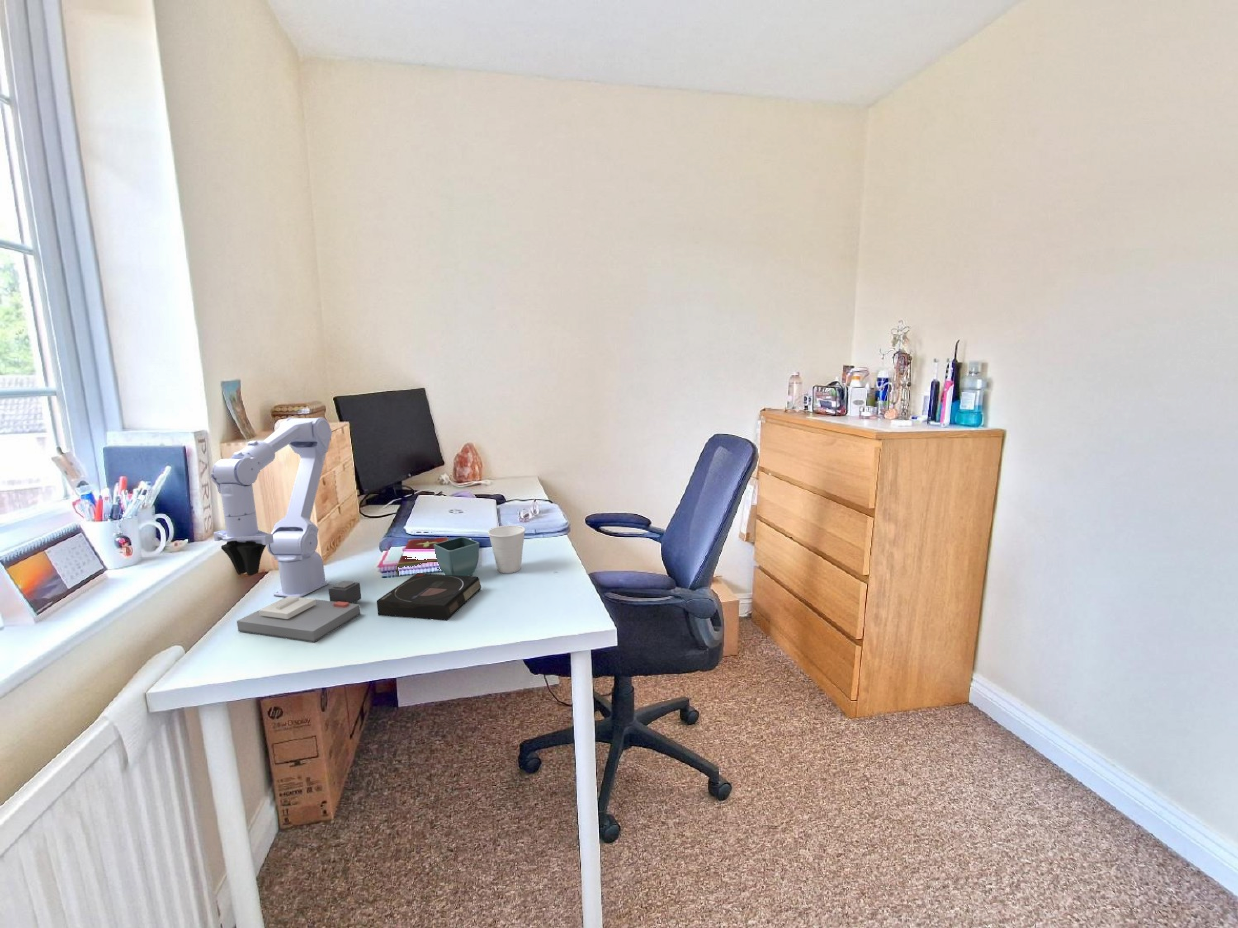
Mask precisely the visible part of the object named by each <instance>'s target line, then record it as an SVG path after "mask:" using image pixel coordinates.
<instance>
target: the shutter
mask: <svg viewBox="0 0 1238 928" xmlns="http://www.w3.org/2000/svg"><path fill="white" fill-rule="evenodd" d="M315 599H316V598H308V597H292V596H288V597H284V599H283V598H282V600H281V599H279V600H280V601H279V600H278V602H277V601H276V602H273V603H271V604H270V605H268V606H265V607H263V608H261V609H259V612H260V616H267V617H275V618H282V619H289V618H291V617H293V616H295V615H297V614H299V613H301V612H302V611H304V610H306V609H308V608H310V607H312V606H314V605H316V600H315Z"/></svg>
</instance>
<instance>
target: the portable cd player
mask: <svg viewBox="0 0 1238 928" xmlns="http://www.w3.org/2000/svg"><path fill="white" fill-rule="evenodd" d="M481 590H482V585H481V582H480V577H479V576H475V575H474V576H473V575H471V576H459V575H445V574H440V573H439V574H438V573H417V574H413V575H411V577H409V578H408V579H406V580H405V581H404V582H402V583H400V584H399V585H397V586H396V587H395V588H393V589H392V590H390V591H388V592H387V593H386V594H384V595H383V596H380V597H379V598H378V599H377V600H376V608H377V616H379V617H392V618H406V619H408V618H409V619H420V620H431V619H433V621H448V620H450V619H451V617H452V616H454V615H455V614H456V613H457V612H458V611H459V610H460V609H461V608H462V607H464V606H465V605H466V604H468V602H469V601H470V600H471V599H472V598H474V596H475V595H477V594H478V593H479V592H480V591H481Z"/></svg>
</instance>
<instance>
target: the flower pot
mask: <svg viewBox="0 0 1238 928" xmlns="http://www.w3.org/2000/svg"><path fill="white" fill-rule="evenodd" d="M434 549H435V554H436V558H437V562H438V564H439V566H440V568H441V570H442V571H443V575H459V576H473V574H474V573H475V572H476V569H477V566H478V565H479V564H478V563H479V557H480V555H479V554H480V541H479V542H478V541H476V540H473V539H470V538H468V537H465V536H460V537H455V538H452V539H449V540H447V541H444V542H440V543H436V544H434Z"/></svg>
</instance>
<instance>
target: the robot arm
mask: <svg viewBox="0 0 1238 928" xmlns="http://www.w3.org/2000/svg"><path fill="white" fill-rule="evenodd" d="M332 435H333V431H332V428H331V426H330V423H329V422H328V420H327V419H326V418H324V417H322V416H321V417H314V418H313V417H311V418H310V417H309V418H307V417H306V418H305V417H304V418H303V417H302V418H298V417H297V418H294V417H288V418H286V419H285V420H284V421H281V422H280V423H279V427H278V428H277V429H276V430H275V431H274V432H272V433H271V434H270V435H269V436H268V437H266V438H265V439H264V440H250V441H248V442H247V446H245V447H244V448H241V450H239V451H235V452H234V453H233V454H232V456H230V458H222V459H219V460H218V461H217V462H215V463H214V465H213V467H212V470H211V473H210V478H211V480H212V482H213V483H214V484H215V486H216V488H217V492H218V493H219V494H220V495H221V496H220V497H221V503H222V510H223V518H224V525H225V530H223V529H221V530H218V531H214V532H213V539H214V541H215V542H220V541H222V542H226V543H225V544H222V545H221V546H220V547H221V550H222V551H223V552H224V553H225V554H226V555H227V557H228V558H229V560H230V561H231V563H232V565H233V567H234V570H235V572H236V573H237V575H240V576H241V575H243V574H247V576H249V577H251V576H253V575H256V574H259V571H260V565H261V559H262V557H263V556H262V555H263V553H264V550H265V549H267V551H268V553H269V555H271V556H273V558H274V560H277V567H278V573H279V580H280V587H281V589H279V590H277V591H275V592H274V593H273V596H276V597H284V598H286V597H288V596H292V597H300V598H303V597H304V596H307V595H308V594H310V593H312V592H315V591H316V590H318V589H320V588H323V587H324V586H326V585H328V584H329V582H328V581H326V575H325V567H324V561H323V557H322V556H321V555H320V553H319V552H317V548H318V544H319V540H318V535H319V534H318V532H319V528H318V526H317V525H316V524H315V523H314V522H313V521H312V520H311V516H312V513H313V510H314V505H315V500H316V497H317V494H318V493H317V492H318V489H319V486H320V485H319V484H320V479H321V478H322V477H321V476H322V472H323V468H324V464H325V461H326V460H325V459H326V455H327V453H328V450H329V448H330V447H329V446H330V443H331V439H332ZM287 446H289V447H290V449H292V451H293V452H294V453H295V454H297V455H299V457H300V461H299V464H298V468H297V472H296V476H295V479H294V484H293V487H292V491H291V495H290V497H289V498H290V499H289V502H288V507H287V510H286V514H285V516H284V517H283V518H281V519H280V520H278V521H277V522H276V523H275V524H274V526H273V529H272V530H271V533H267V532H265V531H262V530H259V526H258V525H259V524H258V517H257V511H256V503H255V494H254V487H253V484H254V483H256V480H257V479H258V475H259V473H261V471H262V470H263V469H264V468H265V467H267V466H268V465H270V463H272V462H274V461H275V457H276V453H277V452H279V451H281V450H282V449H283V448H285V447H287Z"/></svg>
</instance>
